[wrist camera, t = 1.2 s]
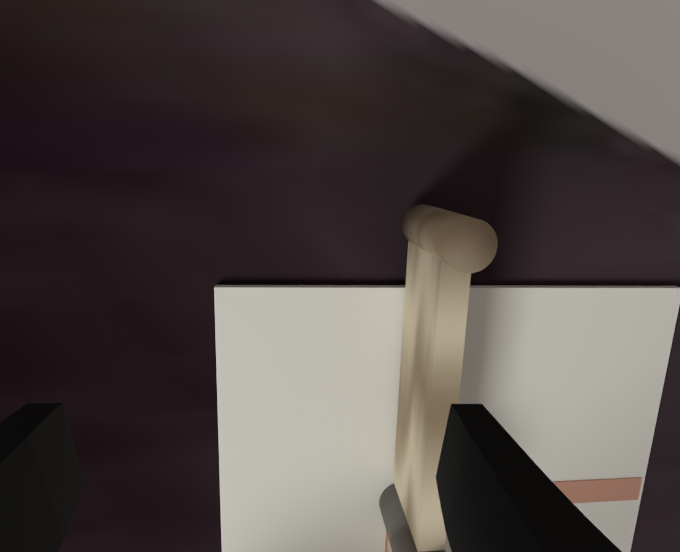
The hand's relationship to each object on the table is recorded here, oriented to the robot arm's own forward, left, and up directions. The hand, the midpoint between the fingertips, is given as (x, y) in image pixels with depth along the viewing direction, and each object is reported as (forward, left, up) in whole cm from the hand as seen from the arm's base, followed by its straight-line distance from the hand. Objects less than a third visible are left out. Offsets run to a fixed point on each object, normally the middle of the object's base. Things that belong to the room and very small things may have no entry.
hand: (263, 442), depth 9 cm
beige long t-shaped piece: (-2, -6, -10) cm, 11 cm away
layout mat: (-10, -8, -10) cm, 16 cm away
